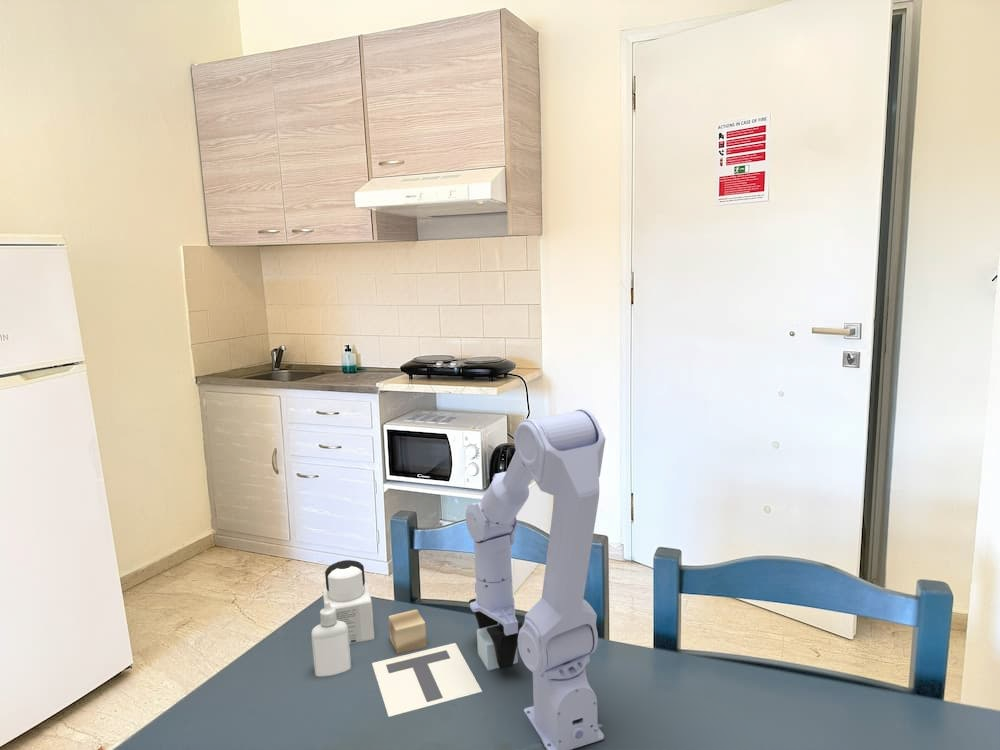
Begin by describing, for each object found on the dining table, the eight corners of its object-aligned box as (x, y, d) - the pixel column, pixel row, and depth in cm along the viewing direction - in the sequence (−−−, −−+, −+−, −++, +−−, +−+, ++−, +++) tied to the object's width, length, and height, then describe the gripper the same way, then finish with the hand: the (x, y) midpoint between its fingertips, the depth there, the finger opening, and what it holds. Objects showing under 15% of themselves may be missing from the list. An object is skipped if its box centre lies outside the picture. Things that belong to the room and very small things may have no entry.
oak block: (427, 650, 111) (425, 622, 110) (397, 658, 109) (395, 630, 108) (418, 635, 116) (417, 609, 115) (390, 643, 114) (388, 616, 113)
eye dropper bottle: (344, 682, 103) (338, 610, 101) (310, 679, 104) (303, 608, 102) (355, 665, 108) (349, 596, 106) (322, 662, 109) (316, 594, 107)
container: (326, 628, 119) (320, 560, 117) (369, 619, 121) (364, 552, 119) (328, 651, 112) (322, 579, 110) (374, 642, 114) (369, 571, 112)
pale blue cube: (518, 667, 106) (516, 638, 105) (488, 674, 104) (486, 645, 103) (506, 650, 110) (505, 622, 109) (478, 657, 109) (476, 629, 108)
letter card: (482, 695, 99) (482, 691, 99) (388, 720, 94) (388, 716, 94) (455, 646, 112) (455, 642, 112) (372, 666, 107) (371, 662, 107)
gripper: (456, 560, 110) (460, 636, 112) (484, 600, 97) (488, 685, 99) (496, 552, 112) (499, 626, 115) (529, 590, 99) (532, 674, 101)
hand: (497, 653), depth 107 cm, fingers open, 7 cm apart
